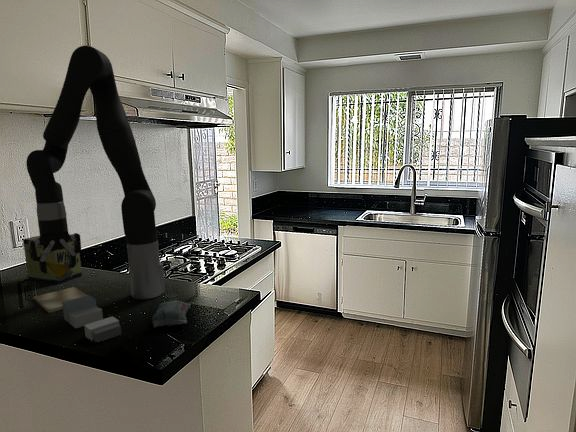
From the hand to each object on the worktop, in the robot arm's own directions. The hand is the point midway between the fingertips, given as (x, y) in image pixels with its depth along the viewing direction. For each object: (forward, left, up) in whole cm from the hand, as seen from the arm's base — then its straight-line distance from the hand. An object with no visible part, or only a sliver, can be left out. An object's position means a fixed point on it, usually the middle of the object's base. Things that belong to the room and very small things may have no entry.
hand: (58, 270), depth 126 cm
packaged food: (-15, +41, -10) cm, 45 cm away
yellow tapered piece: (-1, 0, -4) cm, 4 cm away
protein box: (-6, -28, -10) cm, 30 cm away
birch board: (0, 0, -10) cm, 10 cm away
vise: (+1, +27, -10) cm, 29 cm away
